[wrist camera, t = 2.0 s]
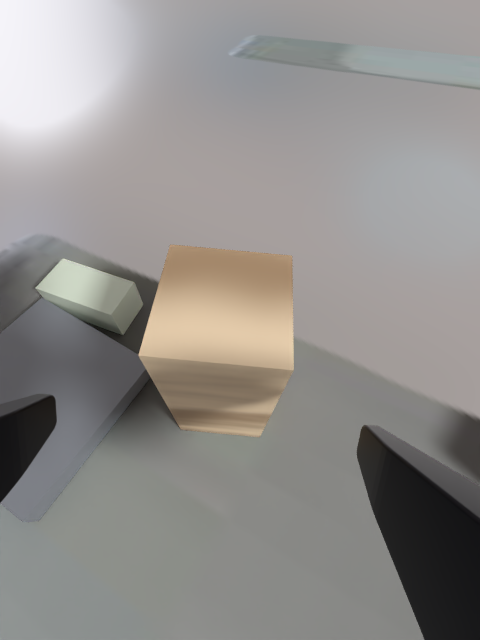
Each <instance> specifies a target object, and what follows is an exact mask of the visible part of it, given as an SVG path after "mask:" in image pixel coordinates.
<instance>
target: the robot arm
mask: <svg viewBox="0 0 480 640" xmlns="http://www.w3.org/2000/svg"><path fill="white" fill-rule="evenodd" d="M56 423H57V414H56V400H55V397H54V396H53V395H50V394H35V395H31V396H28V397H24V398H20V399H17V400H13V401H10V402H6V403H2V404H0V503H1V502H2V501H3V500H4V498H5V497H6V496H7V495H8V493H9V492H10V491H11V490H12V488H13V487H14V486H15V485H16V484H17V482H18V481H19V480H20V478H21V477H22V476H23V474H24V473H25V472H26V470H27V469H28V467H29V466H30V464H31V463H32V461H33V460H34V458H35V457H36V455H37V454H38V453H39V451H40V450H41V448H42V447H43V445H44V444H45V442H46V441H47V439H48V438H49V436H50V435H51V433H52V432H53V430H54V429H55V426H56ZM357 458H358V462H359V465H360V469H361V472H362V476H363V479H364V483H365V486H366V490H367V493H368V497H369V500H370V503H371V506H372V510H373V512H374V515H375V518H376V520H377V523H378V525H379V528H380V530H381V533H382V535H383V538H384V540H385V543H386V545H387V548H388V550H389V553H390V555H391V558H392V560H393V562H394V565H395V567H396V570H397V572H398V575H399V577H400V580H401V582H402V585H403V587H404V590H405V592H406V595H407V597H408V600H409V602H410V605H411V607H412V610H413V612H414V615H415V617H416V620H417V622H418V624H419V627H420V629H421V632H422V634H423V637H424V639H425V640H480V485H478V484H476V483H475V482H473V481H471V480H469V479H468V478H466V477H464V476H463V475H461V474H459V473H457V472H456V471H454V470H452V469H451V468H449V467H447V466H445V465H444V464H442V463H440V462H439V461H437V460H435V459H434V458H432V457H430V456H428V455H427V454H425V453H423V452H422V451H420V450H418V449H416V448H415V447H413V446H411V445H410V444H408V443H406V442H405V441H403V440H401V439H399V438H398V437H396V436H394V435H393V434H391V433H389V432H387V431H386V430H384V429H382V428H381V427H379V426H373V425H364V426H363V427H362V429H361V433H360V438H359V442H358V447H357Z"/></svg>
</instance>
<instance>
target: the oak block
mask: <svg viewBox="0 0 480 640" xmlns="http://www.w3.org/2000/svg"><path fill="white" fill-rule="evenodd" d="M292 287H293V280H292V256H290V255H278V254H268V253H257V252H246V251H235V250H225V249H214V248H203V247H191V246H181V245H170V247H169V251H168V254H167V258H166V261H165V264H164V268H163V271H162V275H161V278H160V282H159V285H158V289H157V292H156V296H155V299H154V303H153V306H152V310H151V313H150V316H149V320H148V323H147V327H146V330H145V334H144V337H143V341H142V344H141V348H140V351H139V355H138V356H139V358H140V360H141V361H142V363H143V365H144V366H145V368H146V370H147V372H148V373H149V375H150V377H151V379H152V380H153V382H154V384H155V386H156V387H157V389H158V391H159V393H160V394H161V396H162V398H163V399H164V401H165V403H166V405H167V406H168V408H169V410H170V412H171V413H172V415H173V417H174V419H175V420H176V422H177V424H178V426H179V427H180V429H181V430H190V431H200V432H211V433H221V434H231V435H242V436H252V437H260V436H261V434H262V432H263V430H264V428H265V426H266V424H267V422H268V420H269V418H270V416H271V414H272V412H273V410H274V408H275V406H276V404H277V402H278V400H279V398H280V396H281V394H282V392H283V390H284V388H285V386H286V384H287V382H288V380H289V378H290V376H291V375H292V373H293V371H294V357H293V288H292Z"/></svg>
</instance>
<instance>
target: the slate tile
mask: <svg viewBox="0 0 480 640" xmlns="http://www.w3.org/2000/svg"><path fill="white" fill-rule="evenodd" d="M150 378H151V377H150V375H149V373H148V372H147V370H146V368H145V366H144V365H143V363H142V361H141V360H140V358H139V356H138V354H137V353H135V352H133V351H132V350H130V349H128V348H126V347H125V346H123V345H121V344H120V343H118V342H116V341H115V340H113V339H111V338H110V337H108V336H106V335H105V334H103V333H101V332H99V331H98V330H96V329H94V328H93V327H91V326H89V325H88V324H86V323H84V322H83V321H81V320H79V319H78V318H76V317H74V316H72V315H71V314H69V313H67V312H66V311H64V310H62V309H61V308H59V307H57V306H56V305H54V304H52V303H51V302H49V301H47V300H45V299H44V298H41V299H39V300H38V301H37V302H36V303H35V304H34V305H32V306H31V307H30V308H29V309H28V310H27V311H25V312H24V313H23V314H22V315H21V316H20V317H18V318H17V319H16V320H15V321H14V322H12V323H11V324H10V325H9V326H8V327H7V328H5V329H4V330H3V331H2V332H1V333H0V404H2V403H6V402H10V401H13V400H17V399H20V398H24V397H28V396H31V395H35V394H50V395H53V396H54V397H55V400H56V414H57V423H56V426H55V429H54V430H53V432H52V433H51V435H50V436H49V438H48V439H47V441H46V442H45V444H44V445H43V447H42V448H41V450H40V451H39V453H38V454H37V455H36V457H35V458H34V460H33V461H32V463H31V464H30V466H29V467H28V469H27V470H26V472H25V473H24V474H23V476H22V477H21V478H20V480H19V481H18V482H17V484H16V485H15V486H14V487H13V488H12V490H11V491H10V492H9V493H8V495H7V496H6V497H5V498H4V500H3V501H2V502H1V504H2V505H3V506H4V507H6V508H7V509H8V510H9V511H10V512H11V513H13V514H14V515H15V516H16V517H17V518H18V519H20V520H21V521H22V522H32V521H39V520H40V519H41V517H42V516H43V515H44V514H45V512H46V511H47V510H48V508H49V507H50V506H51V505H52V503H53V502H54V501H55V499H56V498H57V497H58V496H59V494H60V493H61V492H62V491H63V489H64V488H65V487H66V485H67V484H68V483H69V482H70V480H71V479H72V478H73V476H74V475H75V474H76V473H77V471H78V470H79V469H80V467H81V466H82V465H83V464H84V462H85V461H86V460H87V458H88V457H89V456H90V455H91V453H92V452H93V451H94V449H95V448H96V447H97V446H98V444H99V443H100V442H101V441H102V439H103V438H104V437H105V435H106V434H107V433H108V432H109V430H110V429H111V428H112V426H113V425H114V424H115V423H116V421H117V420H118V419H119V417H120V416H121V415H122V414H123V412H124V411H125V410H126V408H127V407H128V406H129V405H130V403H131V402H132V401H133V399H134V398H135V397H136V396H137V394H138V393H139V392H140V390H141V389H142V388H143V387H144V385H145V384H146V383H147V382H148V380H149V379H150Z"/></svg>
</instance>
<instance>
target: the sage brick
mask: <svg viewBox="0 0 480 640" xmlns="http://www.w3.org/2000/svg"><path fill="white" fill-rule="evenodd" d="M35 289H36V290H37V291H38V292H39V293H40V294H41V295H42V297H43V298H44V299H45V300H47V301H49V302H51V303H52V304H54V305H56V306H57V307H59V308H61V309H62V310H64V311H66V312H67V313H69V314H71V315H72V316H74V317H76V318H78V319H79V320H82V321H85V322H87V323H90V324H93V325H96V326H98V327H101V328H104V329H107V330H109V331H112V332H115V333H118V334H120V335H124V333H125V332H126V330H127V329H128V327H129V326H130V324H131V323H132V321H133V320H134V318H135V317H136V315H137V314H138V312H139V311H140V309H141V308H142V306H143V302H142V300H141V297H140V295H139V292H138V290H137V287H136V285H135V282H132V281H129V280H126V279H123V278H120V277H117V276H114V275H111V274H108V273H105V272H102V271H99V270H96V269H93V268H90V267H87V266H84V265H81V264H78V263H75V262H72V261H69V260H66V259H62V260H61V261H60V262H59V263H58V264H57V265H56V266H55V268H54V269H53V270H52V271H51V272H50V273H49V274H48V275H47V276H46V277H45V278H44V279H43V280H42V281H41V282H40V284H39V285H38V286H37V287H36V288H35Z"/></svg>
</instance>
